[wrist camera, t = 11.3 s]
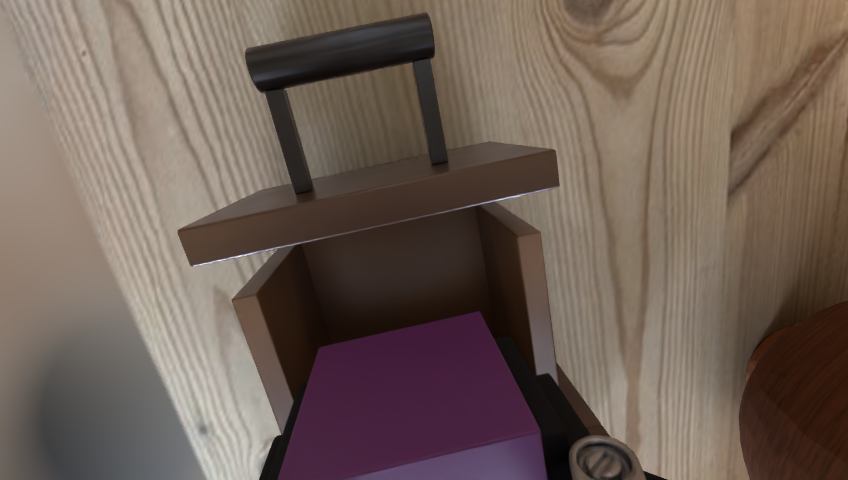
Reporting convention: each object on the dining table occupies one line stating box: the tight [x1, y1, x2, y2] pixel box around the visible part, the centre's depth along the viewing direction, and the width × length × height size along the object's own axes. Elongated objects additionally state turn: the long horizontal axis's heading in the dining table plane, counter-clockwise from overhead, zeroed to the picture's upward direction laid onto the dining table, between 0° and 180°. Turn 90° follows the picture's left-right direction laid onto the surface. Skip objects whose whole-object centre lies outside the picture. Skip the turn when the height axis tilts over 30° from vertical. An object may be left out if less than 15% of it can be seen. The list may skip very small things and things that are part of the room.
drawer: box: [178, 12, 559, 434], centre depth 16 cm, size 18×11×8 cm, turn 11°
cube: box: [278, 311, 548, 480], centre depth 10 cm, size 5×5×5 cm
